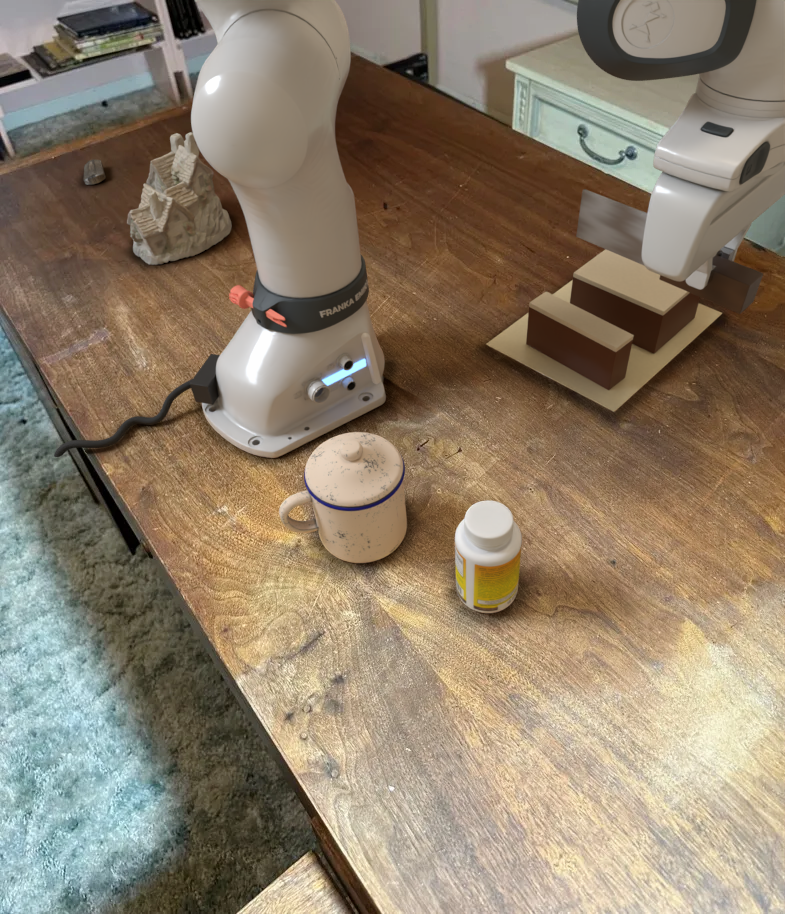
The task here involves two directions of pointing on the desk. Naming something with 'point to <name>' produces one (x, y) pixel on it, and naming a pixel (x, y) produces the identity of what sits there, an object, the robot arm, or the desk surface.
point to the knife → (624, 237)
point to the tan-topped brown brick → (578, 340)
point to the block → (93, 172)
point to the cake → (632, 299)
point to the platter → (637, 375)
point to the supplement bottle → (487, 557)
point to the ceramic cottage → (177, 207)
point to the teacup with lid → (353, 497)
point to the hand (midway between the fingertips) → (708, 274)
